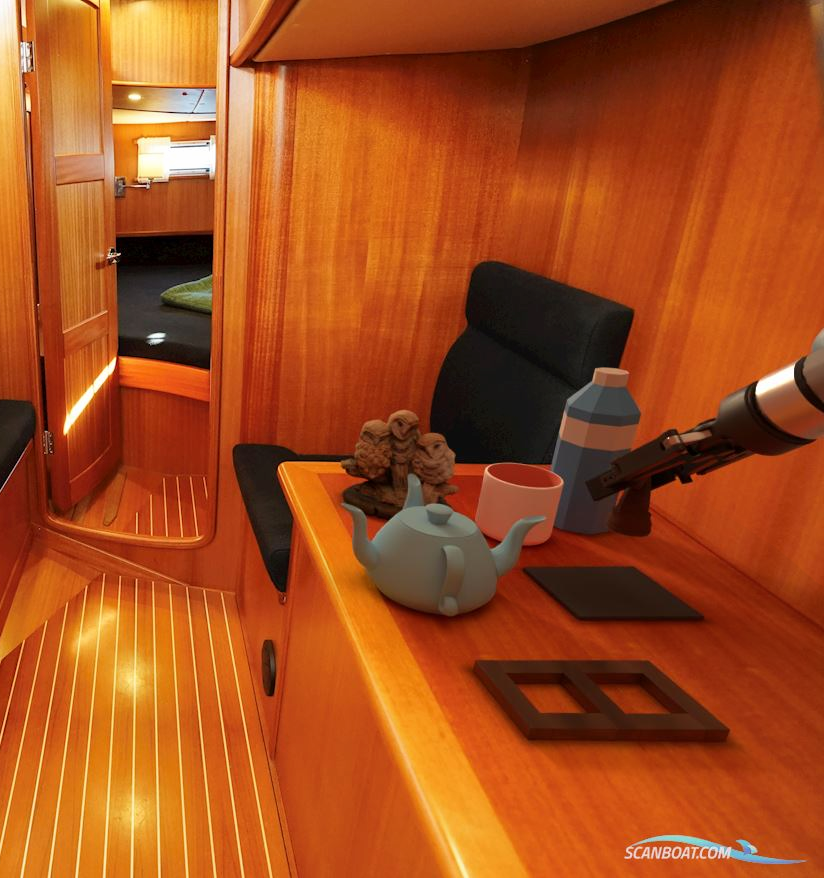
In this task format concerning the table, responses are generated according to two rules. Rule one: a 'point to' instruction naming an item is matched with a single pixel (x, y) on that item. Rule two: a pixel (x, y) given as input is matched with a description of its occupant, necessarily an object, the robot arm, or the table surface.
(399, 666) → the table surface
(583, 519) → the water bottle
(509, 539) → the teapot
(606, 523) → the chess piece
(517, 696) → the rack
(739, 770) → the table surface
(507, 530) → the cup
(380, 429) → the owl figurine
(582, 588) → the felt mat
